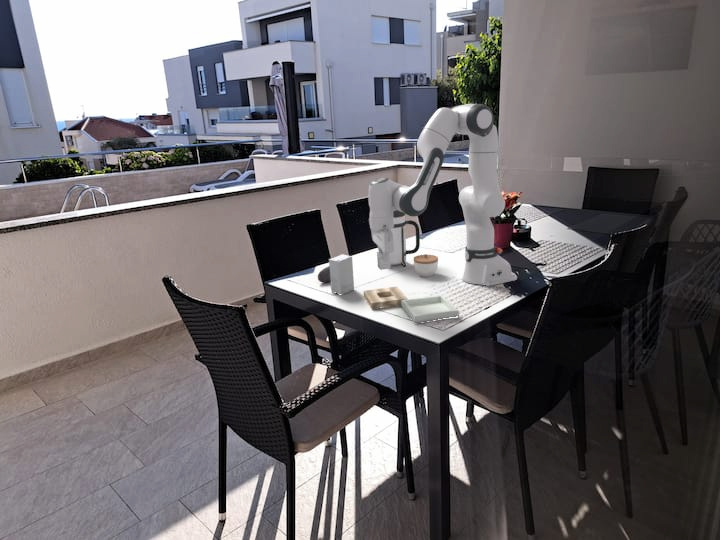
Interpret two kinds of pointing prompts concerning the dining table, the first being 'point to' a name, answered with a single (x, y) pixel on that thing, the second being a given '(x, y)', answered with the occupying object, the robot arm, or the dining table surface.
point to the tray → (429, 308)
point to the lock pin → (381, 262)
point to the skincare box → (341, 274)
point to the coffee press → (402, 239)
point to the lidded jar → (426, 265)
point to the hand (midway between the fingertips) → (383, 258)
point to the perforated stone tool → (324, 275)
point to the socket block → (384, 297)
